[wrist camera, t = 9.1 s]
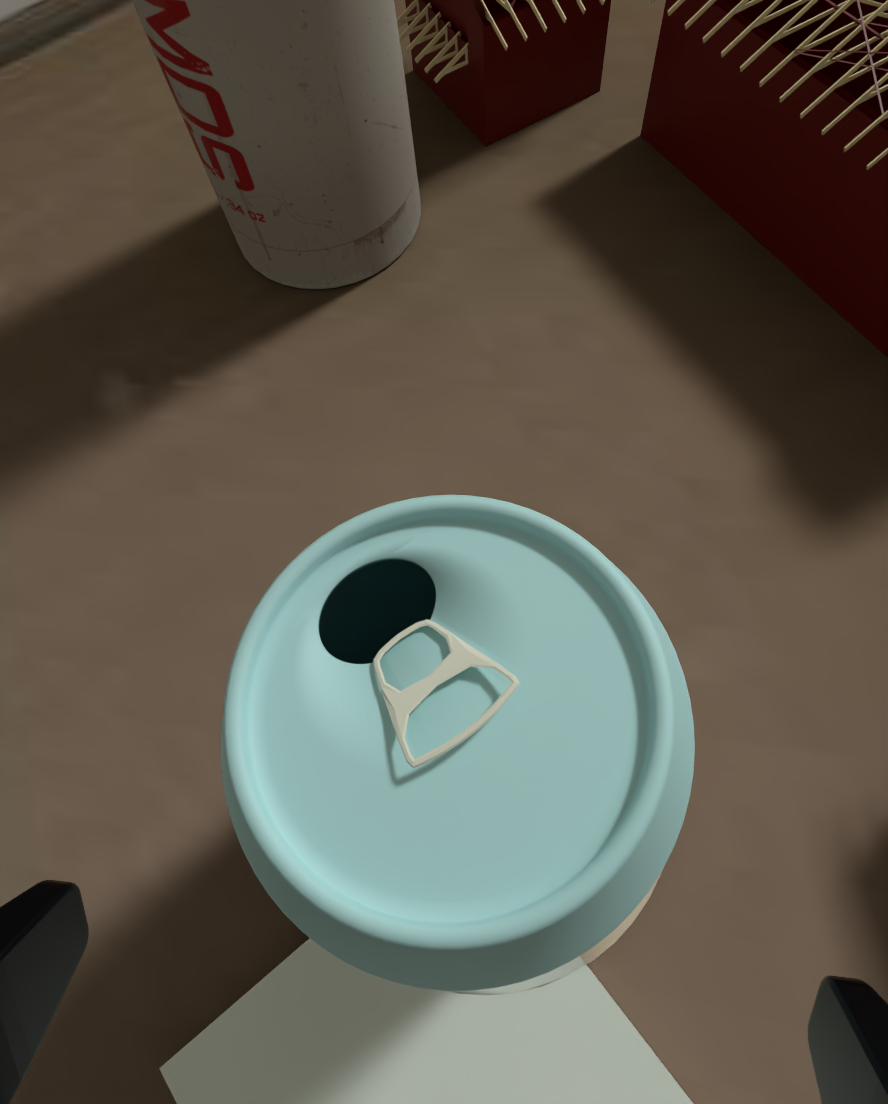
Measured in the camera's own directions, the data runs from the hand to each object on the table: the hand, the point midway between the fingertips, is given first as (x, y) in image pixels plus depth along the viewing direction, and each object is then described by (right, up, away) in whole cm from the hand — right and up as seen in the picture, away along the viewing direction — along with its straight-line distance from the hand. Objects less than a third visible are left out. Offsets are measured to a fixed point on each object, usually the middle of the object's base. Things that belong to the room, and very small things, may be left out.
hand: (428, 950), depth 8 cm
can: (+1, -2, +12) cm, 12 cm away
